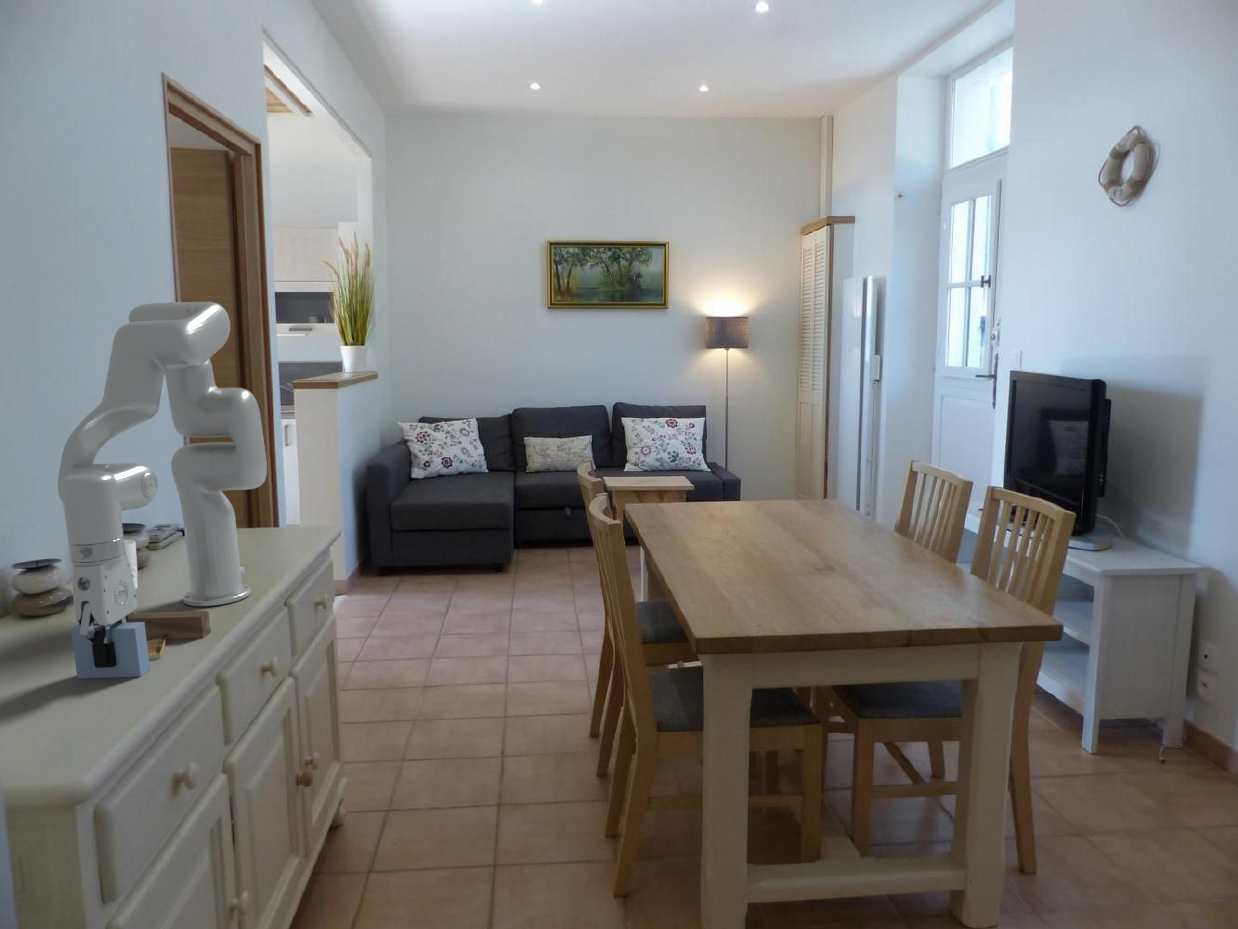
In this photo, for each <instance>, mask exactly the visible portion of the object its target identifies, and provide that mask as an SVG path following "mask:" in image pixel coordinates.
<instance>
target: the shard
mask: <svg viewBox="0 0 1238 929" xmlns="http://www.w3.org/2000/svg"><path fill="white" fill-rule="evenodd" d="M166 636H167V634H165V635H163V636H160V637H157V638H155V639H152V640H147V648H148V656H149V662H150V661H154V660H155V661H157V660H160V659H161V657H162V652H163V650H164V648H165V646H166V645H167V639H165V638H166Z"/></svg>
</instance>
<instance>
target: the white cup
mask: <svg viewBox="0 0 1238 929" xmlns="http://www.w3.org/2000/svg"><path fill="white" fill-rule="evenodd" d="M124 544H125V553H126V555H127V557H128V560H129V563H130V567H131V571H132V575H133V580H134V585H135V590H137V589H138V588H139V587H138V586H139V584H138V583H139V582H138V574H139V573H138V561H137V559H138V558H137V557H138V556H137V544H136V540H133V539H124Z"/></svg>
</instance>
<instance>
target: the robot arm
mask: <svg viewBox="0 0 1238 929" xmlns="http://www.w3.org/2000/svg"><path fill="white" fill-rule="evenodd" d="M230 333H231V320H230V316H229V314H228V312H227V311H226V309H225V308H224V307H223V306H222V305H221V304H219V303H216V302H213V301H188V302H187V301H184V302H183V301H182V302H179V301H178V302H175V301H174V302H173V301H171V302H154V303H153V302H152V303H144V304H140V305H138V306H136V307H134V308H132V309H131V310H130V312H129V315H128V323H125V324H123V325H121V326H120V327H119V328H118V329H117V330H116V332H115V334H114V336H113V341H112V346H111V352H110V356H109V357H110V358H109V364H108V370H107V372H106V373H107V374H106V380H105V384H104V391H103V396H102V399H101V401H100V403H99V405H98V406H96V407H95V408H94V409H93V410H92V411H91V412H90V413H88V414H87V415H86V416H85V417H84V418H83V419H82V420H81V421H80V423H78V425H77V426H76V428H74V430H73V431H72V432H71V433H70V435H69V436H68V438H67V439H66V442H65V443H64V444H65V445H64V447H63V449H62V453H61V459H60V464H59V470H58V475H57V476H58V477H57V478H58V479H57V492H58V497H59V500H61V502H62V503H63V512H64V518H65V519H64V520H65V521H64V522H65V527H66V533H67V534H66V536H67V541H68V549H69V556H70V557H69V558H70V563H71V565H72V595H73V597H72V598H73V599H72V600H73V607H74V614H75V620H76V624H77V625H78V626H80V627H81V628H80V636H81V637H84V638H87V639H88V640H89V643H90V645H92V650H93V658H94V665H95V667H96V668H105V667H114V666H116V665H117V663H116V655H115V647H114V642H111V635H110V626H111V625H113V624H115V623H126V622H127V619H128V615H129V614H130V613H133V612H134V611H135V610H137V608H138V599H137V598H138V597H137V591H136V589H135V585H134V580H133V575H132V571H131V567H130V563H129V560H128V557H127V555H126V553H125V544H124V540H125V537H124V530H123V523H122V522H123V521H122V520H123V519H122V514H121V512H123V511H130V510H137V509H140V508H144V507H145V506H147V505H149V503H151V502H152V501H153V499H154V498H155V496H156V495H157V492H158V488H159V485H158V484H159V483H158V477H157V475H156V473H155V472H154V471H153V470H152V469H151V468H150V467H149V466H147V465H145V464H142V463H137V462H136V463H134V462H133V463H132V462H131V463H130V462H129V463H127V462H123V463H121V462H120V463H94V461H95V459H96V457H97V455H98V453H99V452H100V451H101V449H102V448H103V447H104V446H105V445H106V444H107V443H108V442H110V440H113V438H115V437H117V436H118V435H120V434H122V433H125V432H127V431H128V430H130V429H132V428H135V427H137V426H138V425H140V424H143V423H144V422H147V421H149V420H151V419H152V418H154V417H155V416H156V415H157V413H158V412H159V409H160V402H161V394H162V389H163V388H162V387H163V383H164V378H165V384H166V390H167V394H168V401H169V408H170V414H171V418H172V423H173V426H174V429H175V430H176V432H177V433H178V434H179V435H180V436H183V437H187V438H221V437H222V438H223V437H225V438H226V437H227V438H231V439H232V441H231V442H230V441H229V442H227V441H226V442H221V441H219V442H217V441H216V442H198V443H197V442H196V443H190V444H187V445H184V446H181V447H179V448H178V449H177V450H176V451H175V452H174V454H173V455H172V458H171V461H170V462H171V463H170V468H171V473H172V478H173V480H174V484H175V487H176V489H177V492H178V497H179V501H180V502H179V503H180V507H181V513H182V522H183V531H184V539H185V550H186V558H187V567H188V575H189V584H190V591H187V592H186V593H184V594H183V597H182V599H183V603H184V604H185V605H187V606H190V607H191V606H192V607H213V606H220V605H225V604H230V603H231V604H232V603H234V602H238V601H241V600H243V599H245V598H247V597H248V596H250V595H251V593H252V590H251V586H250V585H249V584H246V583H243V580H242V576H243V575H244V574H245V573H246V569H245V567H243V566H241V562H240V561H241V560H240V553H239V552H240V551H239V542H238V533H237V524H236V514H235V512H236V511H235V510H234V507H233V504H232V503H231V501H230V500H229V498H228V497H227V496H226V495H225V493H224V492H223V491H237V490H238V491H241V490H243V491H244V490H245V491H246V490H252V489H257V488H259V487H261V486H262V485H263V484H264V483H265V481H266V478H267V474H268V467H267V466H268V463H267V453H266V447H265V441H264V440H265V439H264V432H263V425H262V418H261V412H260V407H259V405H258V401H257V399H256V398H255V396H254V394H253V393H252V392H251V391H249V390H248V389H246V388H242V387H218V386H217V385H216V382H215V377H214V376H215V375H214V369H213V365H212V362H211V360H210V359H211V357H212V356H214V355H215V354H217V352H218V351H219V350H221V349H222V348H223V347H224V345H225V344H226V343H227V341H228V339H229V337H230ZM96 629H103V633H102V632H100V631H96Z"/></svg>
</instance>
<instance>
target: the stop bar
mask: <svg viewBox="0 0 1238 929" xmlns="http://www.w3.org/2000/svg"><path fill="white" fill-rule="evenodd" d="M131 622H144V623H145V631H146V640H147V641H149V640H152V639H155V638H157V637H160V636H163V635H165V634H167V636H166V638H165V640H179V639H203V638H206V637H207V636H208V635H209V634H210V633H212V630H211V622H210V614H209V610H193V611H192V610H189V611H165V612H163V611H161V612H160V611H159V612H134V613H133V612H132V613H130V614H129V615H128V619H127V622H126V623H131Z"/></svg>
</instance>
